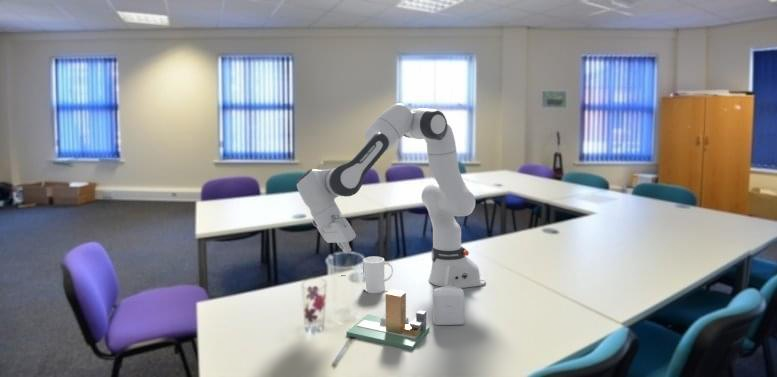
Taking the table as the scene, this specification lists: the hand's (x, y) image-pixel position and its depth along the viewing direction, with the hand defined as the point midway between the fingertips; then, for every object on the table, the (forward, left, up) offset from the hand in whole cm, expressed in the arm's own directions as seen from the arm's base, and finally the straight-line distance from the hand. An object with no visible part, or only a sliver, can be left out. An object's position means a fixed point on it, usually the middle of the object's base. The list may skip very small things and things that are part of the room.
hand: (348, 252), depth 162 cm
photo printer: (-32, +10, -22) cm, 40 cm away
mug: (-11, -22, -22) cm, 33 cm away
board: (-12, +15, -22) cm, 29 cm away
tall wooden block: (-17, +18, -20) cm, 32 cm away
